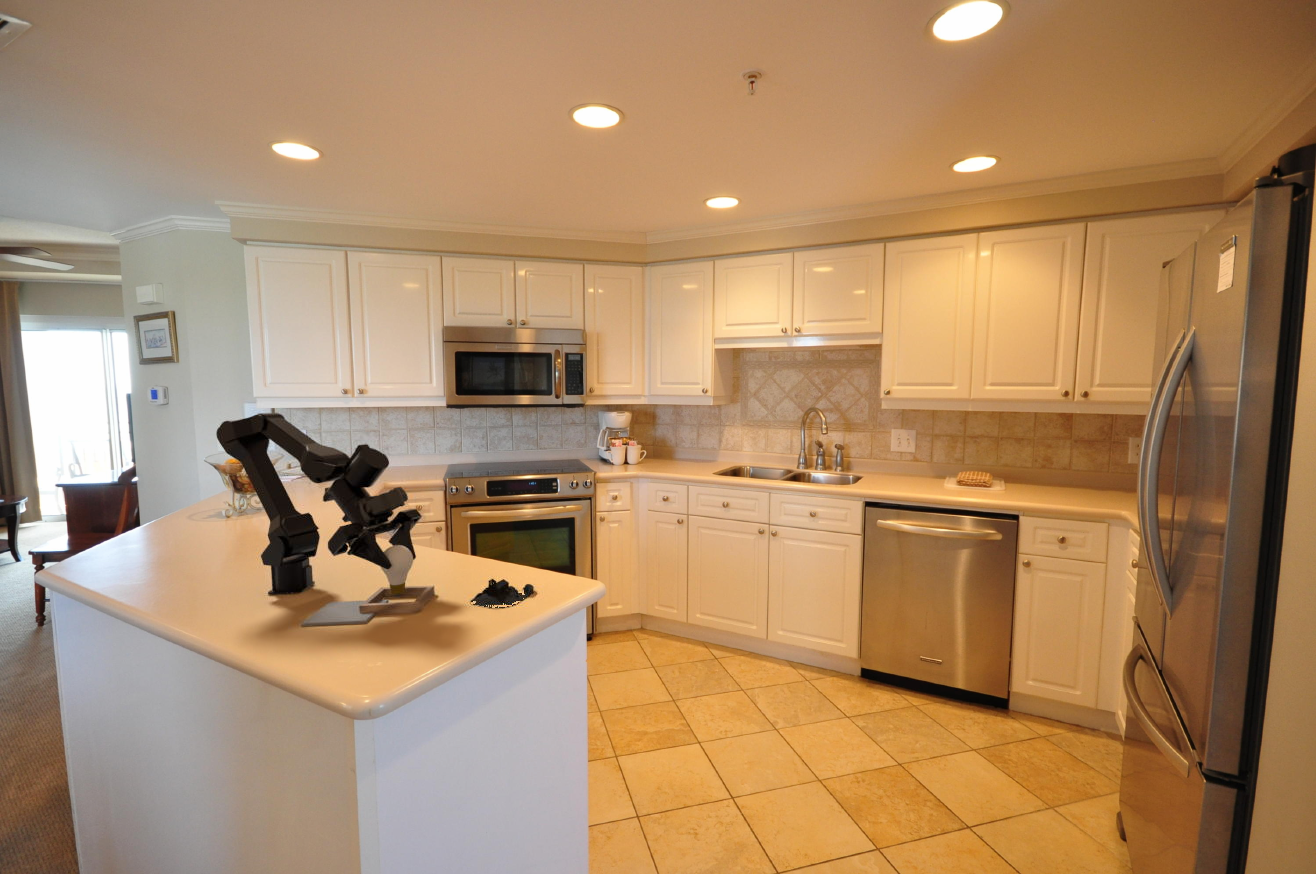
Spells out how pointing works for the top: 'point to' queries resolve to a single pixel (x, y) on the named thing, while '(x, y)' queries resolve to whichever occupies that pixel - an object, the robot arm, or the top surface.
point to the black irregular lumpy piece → (501, 594)
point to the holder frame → (398, 607)
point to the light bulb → (398, 568)
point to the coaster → (340, 614)
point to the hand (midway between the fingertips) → (402, 563)
